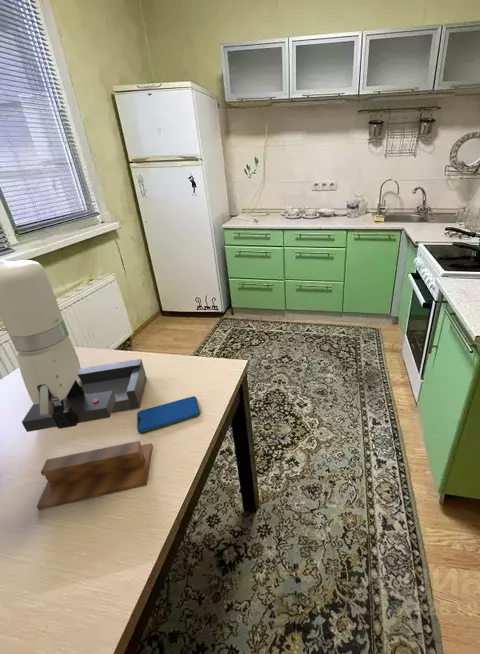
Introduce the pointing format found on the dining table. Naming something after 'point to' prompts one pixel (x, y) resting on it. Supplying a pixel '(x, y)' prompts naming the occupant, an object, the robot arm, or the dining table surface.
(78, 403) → the remote
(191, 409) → the smartphone
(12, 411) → the dining table surface
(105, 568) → the dining table surface
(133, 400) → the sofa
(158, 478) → the dining table surface
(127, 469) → the stepped wooden stand
